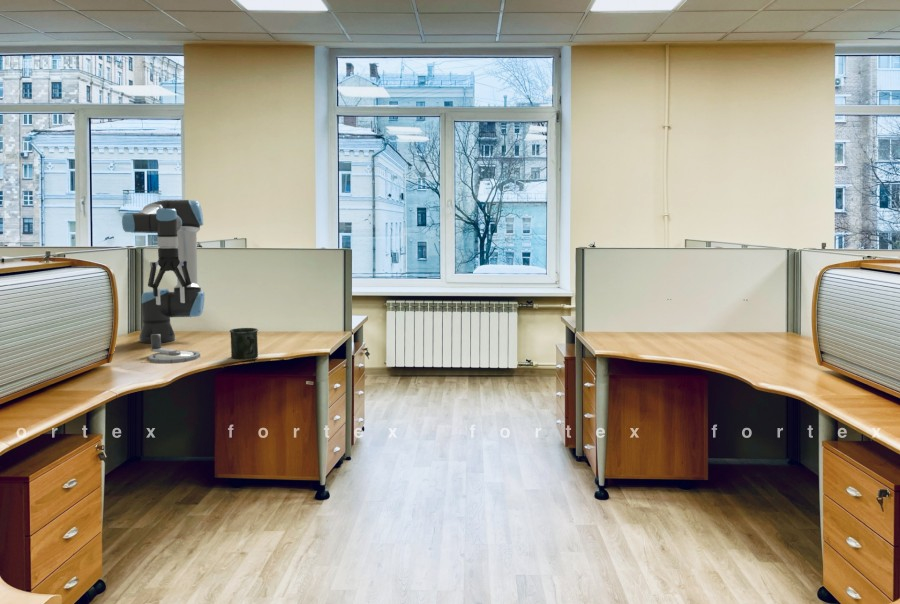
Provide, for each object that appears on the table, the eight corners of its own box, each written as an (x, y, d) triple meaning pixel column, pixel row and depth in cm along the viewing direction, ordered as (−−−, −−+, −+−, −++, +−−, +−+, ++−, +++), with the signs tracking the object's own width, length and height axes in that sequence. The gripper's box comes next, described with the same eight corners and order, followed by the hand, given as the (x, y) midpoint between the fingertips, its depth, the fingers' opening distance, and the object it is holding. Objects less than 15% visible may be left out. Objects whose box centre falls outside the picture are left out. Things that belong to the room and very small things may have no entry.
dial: (201, 356, 280) (200, 335, 279) (171, 362, 268) (170, 341, 267) (168, 352, 290) (167, 331, 289) (138, 357, 278) (137, 336, 277)
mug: (252, 356, 288) (251, 326, 287) (267, 361, 277) (266, 331, 275) (226, 359, 281) (225, 329, 280) (240, 365, 270) (238, 334, 269)
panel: (126, 367, 265) (126, 361, 265) (155, 354, 291) (155, 348, 291) (196, 367, 265) (195, 361, 265) (218, 354, 291) (218, 349, 291)
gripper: (191, 246, 293) (193, 300, 295) (136, 248, 278) (139, 305, 281) (198, 247, 287) (200, 302, 290) (143, 248, 273) (146, 306, 275)
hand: (170, 303), depth 285 cm, fingers open, 9 cm apart
